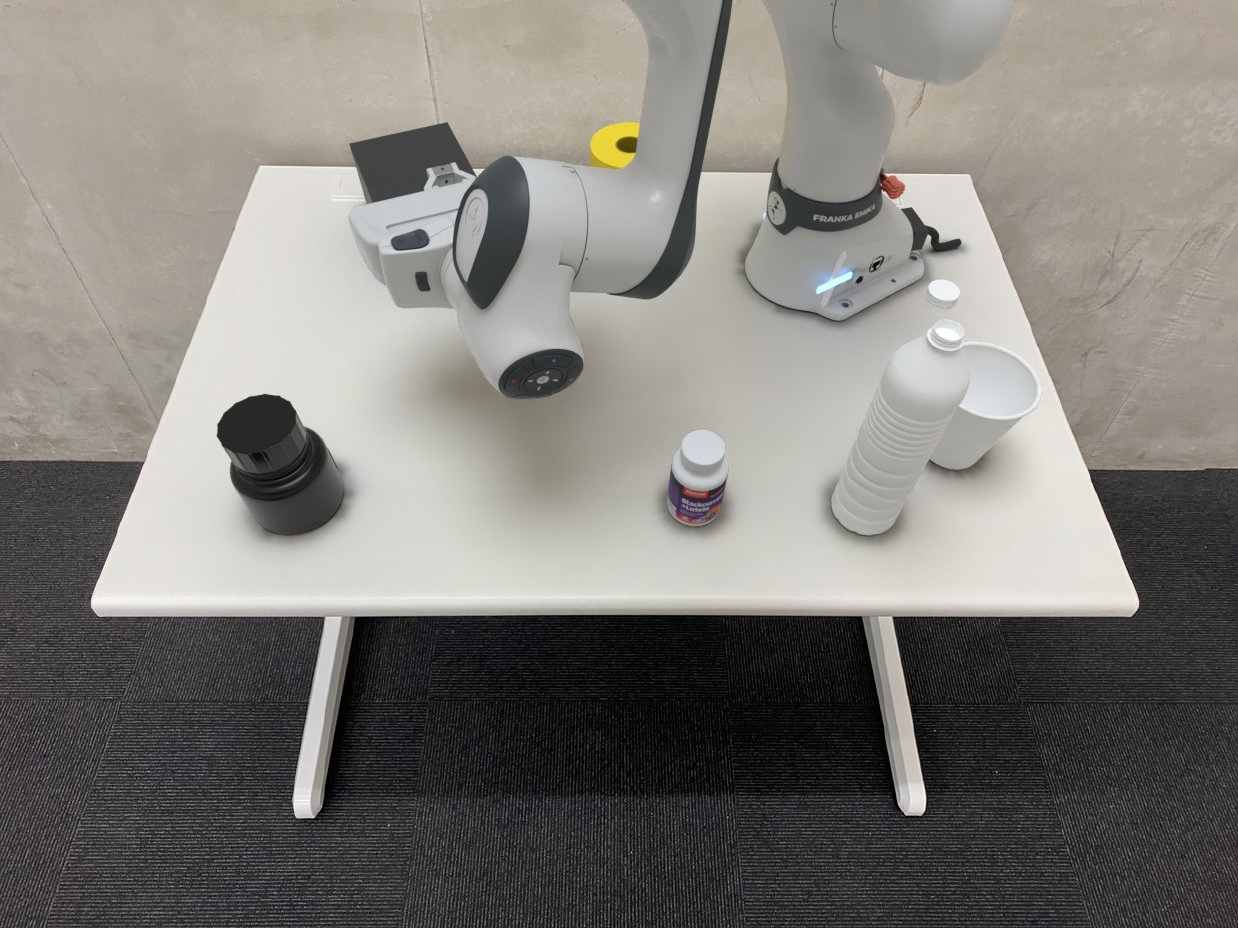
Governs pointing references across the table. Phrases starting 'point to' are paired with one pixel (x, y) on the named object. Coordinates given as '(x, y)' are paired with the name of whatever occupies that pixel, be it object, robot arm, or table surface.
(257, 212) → the table surface
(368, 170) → the cabinet
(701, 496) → the pill bottle
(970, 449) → the cup
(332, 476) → the ink bottle
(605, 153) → the yellow toilet paper roll
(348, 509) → the table surface
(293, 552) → the table surface
